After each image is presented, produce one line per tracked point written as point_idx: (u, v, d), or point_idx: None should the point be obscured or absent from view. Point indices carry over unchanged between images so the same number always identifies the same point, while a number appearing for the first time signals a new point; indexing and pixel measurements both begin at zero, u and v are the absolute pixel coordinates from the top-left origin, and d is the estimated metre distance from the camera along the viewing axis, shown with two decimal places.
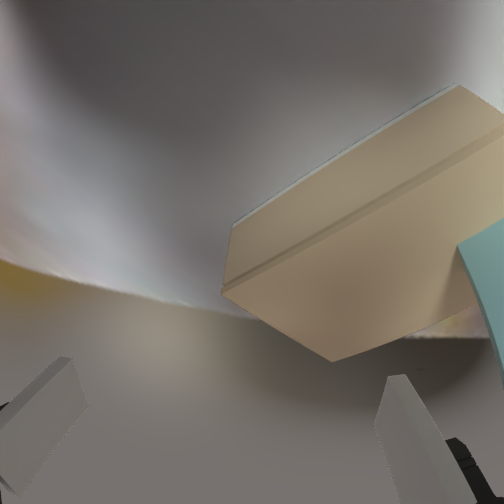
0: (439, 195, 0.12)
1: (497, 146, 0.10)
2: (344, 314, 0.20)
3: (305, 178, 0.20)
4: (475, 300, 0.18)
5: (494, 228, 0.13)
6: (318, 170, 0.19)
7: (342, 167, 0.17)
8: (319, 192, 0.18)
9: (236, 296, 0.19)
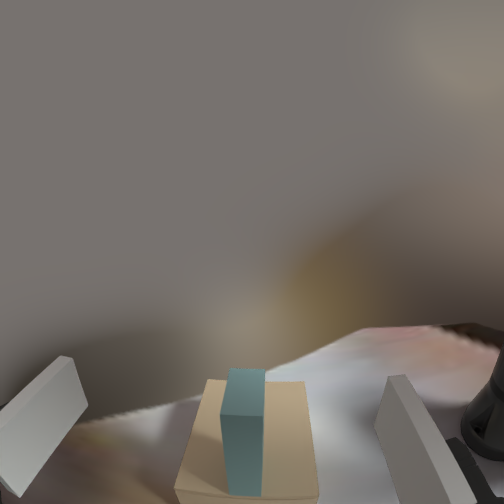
0: (303, 454, 0.26)
1: (314, 482, 0.22)
2: None
3: None
4: (189, 449, 0.27)
5: (262, 470, 0.24)
6: None
7: None
8: None
9: (299, 383, 0.40)
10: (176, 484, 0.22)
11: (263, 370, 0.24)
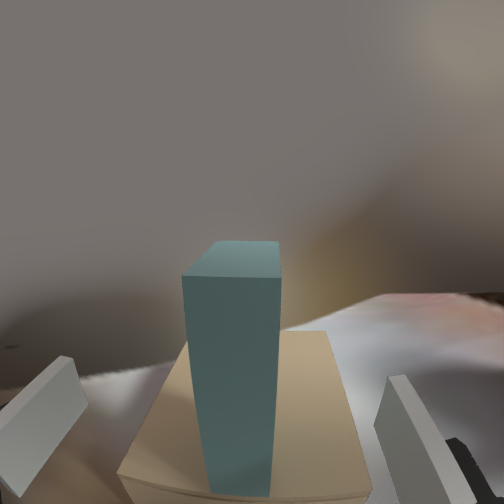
0: (336, 423, 0.17)
1: (360, 468, 0.13)
2: None
3: None
4: (153, 415, 0.18)
5: None
6: None
7: None
8: None
9: (318, 333, 0.30)
10: (121, 467, 0.12)
11: (275, 242, 0.14)
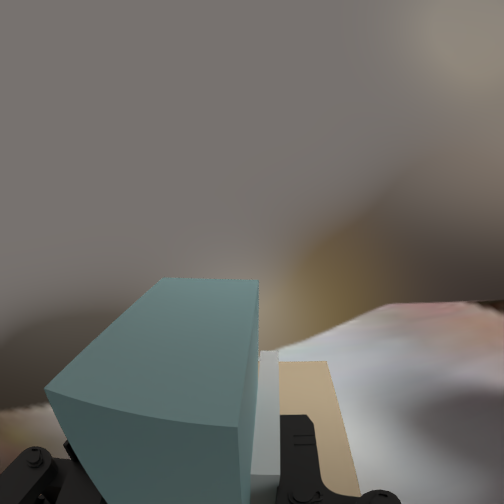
0: (338, 493, 0.11)
1: None
2: None
3: None
4: None
5: None
6: None
7: None
8: None
9: (318, 364, 0.24)
10: None
11: (253, 281, 0.09)
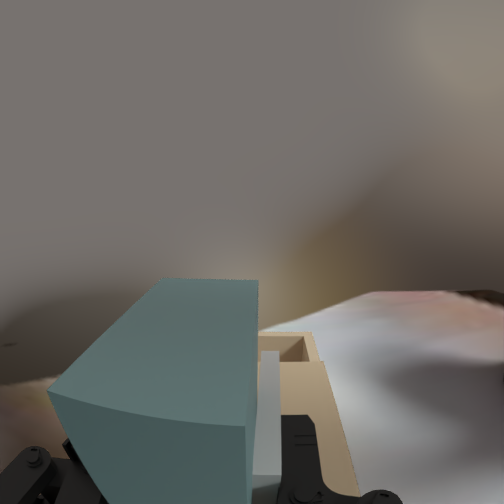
0: (337, 492, 0.11)
1: None
2: None
3: None
4: None
5: None
6: None
7: None
8: None
9: (315, 364, 0.24)
10: None
11: (253, 281, 0.09)
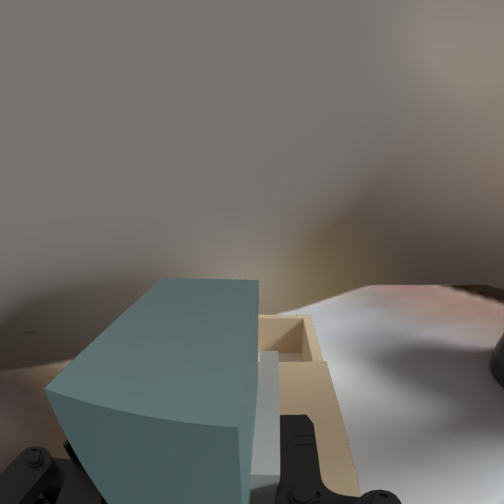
0: (338, 493, 0.11)
1: None
2: None
3: None
4: None
5: None
6: None
7: None
8: None
9: (318, 364, 0.24)
10: None
11: (253, 281, 0.09)
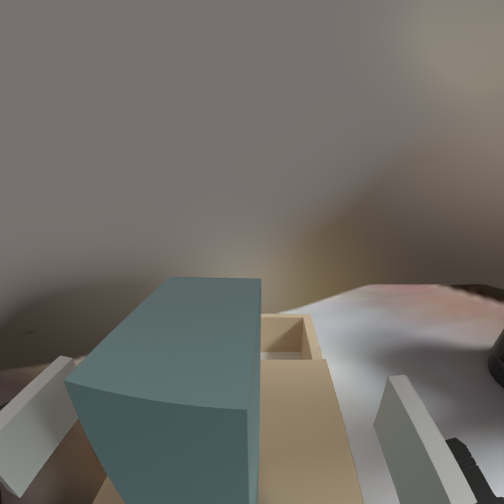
0: (338, 488, 0.12)
1: None
2: None
3: None
4: None
5: None
6: None
7: None
8: None
9: (317, 362, 0.25)
10: None
11: (256, 280, 0.09)
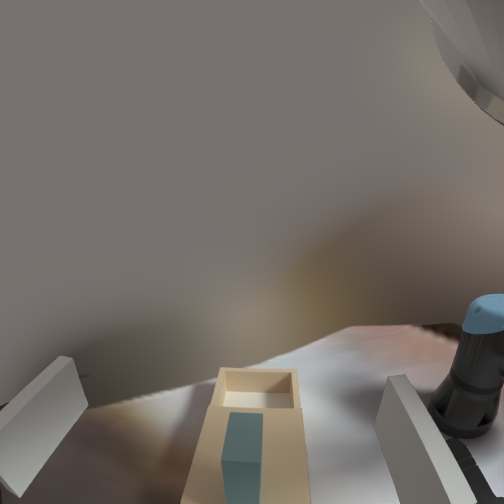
0: (298, 481, 0.26)
1: None
2: None
3: None
4: (192, 476, 0.27)
5: (260, 497, 0.24)
6: None
7: None
8: None
9: (296, 410, 0.39)
10: None
11: (261, 414, 0.24)
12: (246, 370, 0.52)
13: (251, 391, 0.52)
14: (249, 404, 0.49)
